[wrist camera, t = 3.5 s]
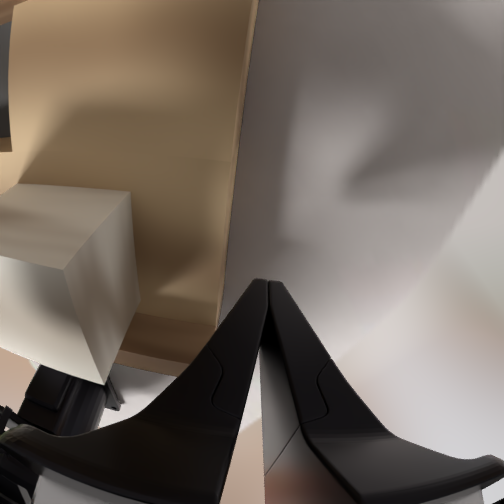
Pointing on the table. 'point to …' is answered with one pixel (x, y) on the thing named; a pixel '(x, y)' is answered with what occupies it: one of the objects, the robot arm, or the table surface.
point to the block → (67, 276)
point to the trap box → (137, 140)
